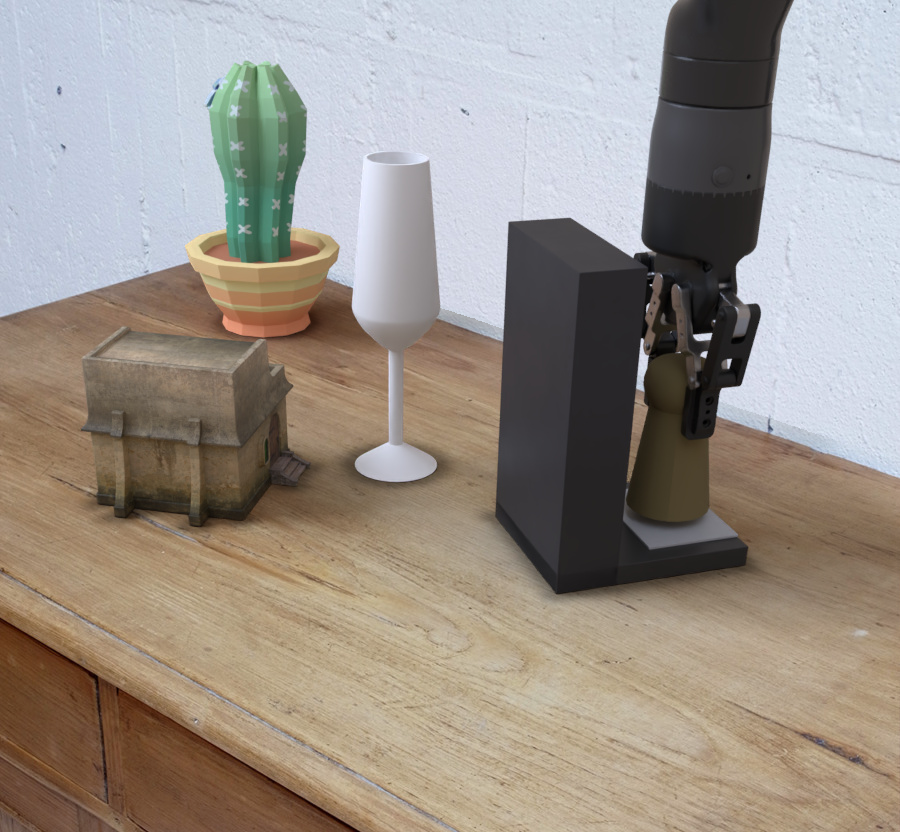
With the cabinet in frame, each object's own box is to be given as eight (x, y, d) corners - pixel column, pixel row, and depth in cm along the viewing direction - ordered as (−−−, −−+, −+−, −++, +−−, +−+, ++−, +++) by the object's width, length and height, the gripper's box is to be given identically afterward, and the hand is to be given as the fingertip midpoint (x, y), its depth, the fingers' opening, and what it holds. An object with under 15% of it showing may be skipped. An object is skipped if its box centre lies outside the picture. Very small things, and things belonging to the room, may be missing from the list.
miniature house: (263, 534, 95) (254, 385, 89) (82, 512, 98) (62, 366, 92) (321, 451, 108) (317, 316, 102) (160, 434, 110) (147, 301, 104)
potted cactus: (342, 299, 143) (336, 52, 130) (341, 348, 129) (335, 78, 117) (198, 299, 142) (179, 50, 129) (182, 348, 128) (159, 76, 116)
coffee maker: (669, 493, 103) (702, 208, 91) (745, 565, 93) (794, 256, 82) (495, 516, 98) (508, 221, 87) (556, 594, 89) (579, 272, 78)
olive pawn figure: (641, 478, 99) (656, 338, 93) (719, 495, 97) (739, 352, 91) (613, 510, 94) (627, 364, 89) (695, 528, 92) (714, 380, 86)
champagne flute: (371, 442, 110) (369, 144, 98) (448, 454, 108) (455, 152, 96) (341, 474, 104) (334, 163, 92) (421, 487, 103) (425, 171, 90)
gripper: (819, 197, 79) (777, 456, 87) (705, 147, 91) (678, 380, 99) (707, 204, 77) (675, 469, 85) (606, 152, 88) (587, 390, 97)
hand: (677, 420), depth 92 cm, fingers closed on olive pawn figure, 5 cm apart
